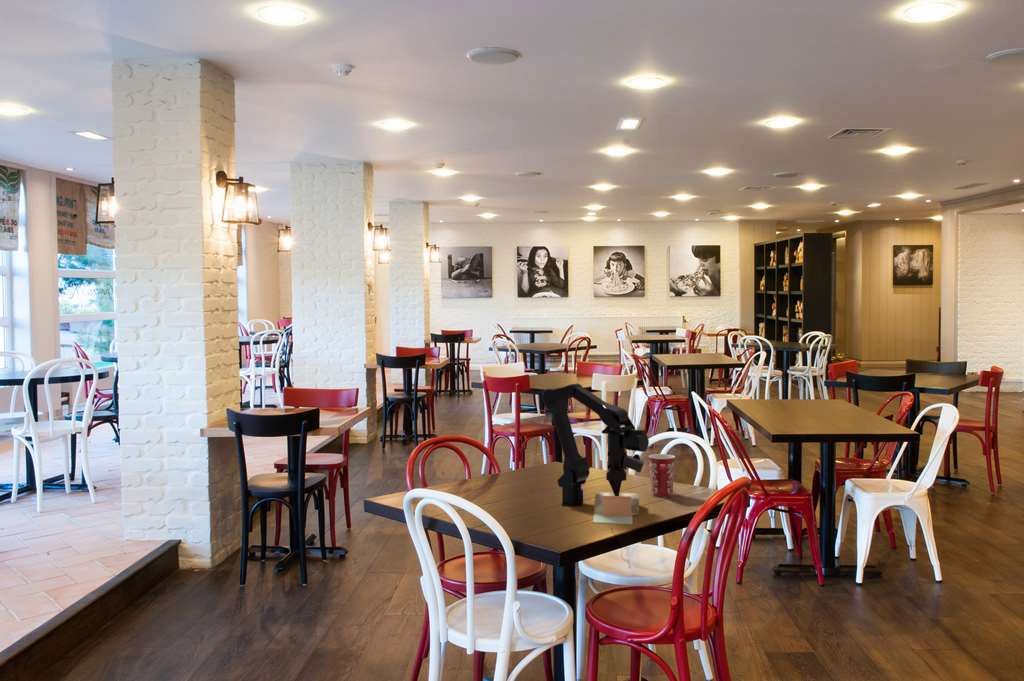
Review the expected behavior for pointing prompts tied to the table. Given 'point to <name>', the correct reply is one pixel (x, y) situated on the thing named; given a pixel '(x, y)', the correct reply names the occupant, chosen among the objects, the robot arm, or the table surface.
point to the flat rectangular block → (616, 506)
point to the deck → (633, 495)
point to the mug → (662, 474)
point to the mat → (612, 519)
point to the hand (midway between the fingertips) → (616, 496)
